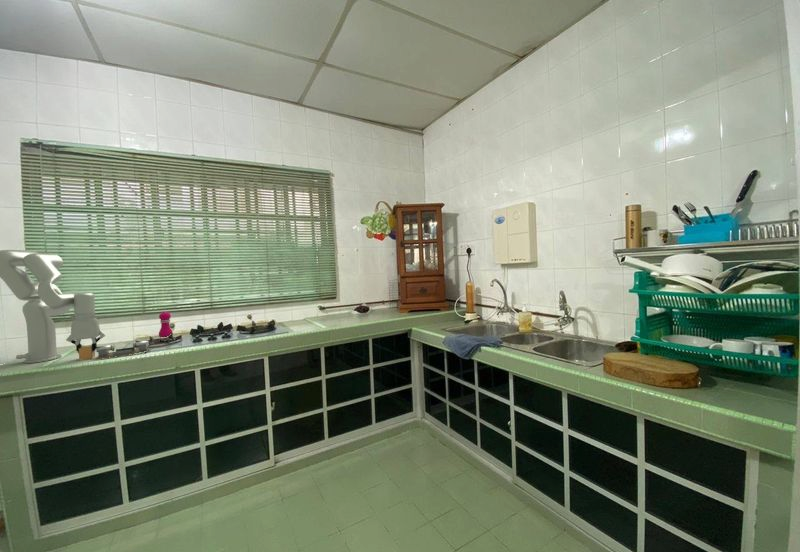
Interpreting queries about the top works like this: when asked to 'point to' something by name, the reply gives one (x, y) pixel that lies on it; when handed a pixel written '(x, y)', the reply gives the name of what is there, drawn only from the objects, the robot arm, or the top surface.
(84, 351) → the block
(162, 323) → the pepper mill
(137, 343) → the shaft bench
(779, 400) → the top surface
